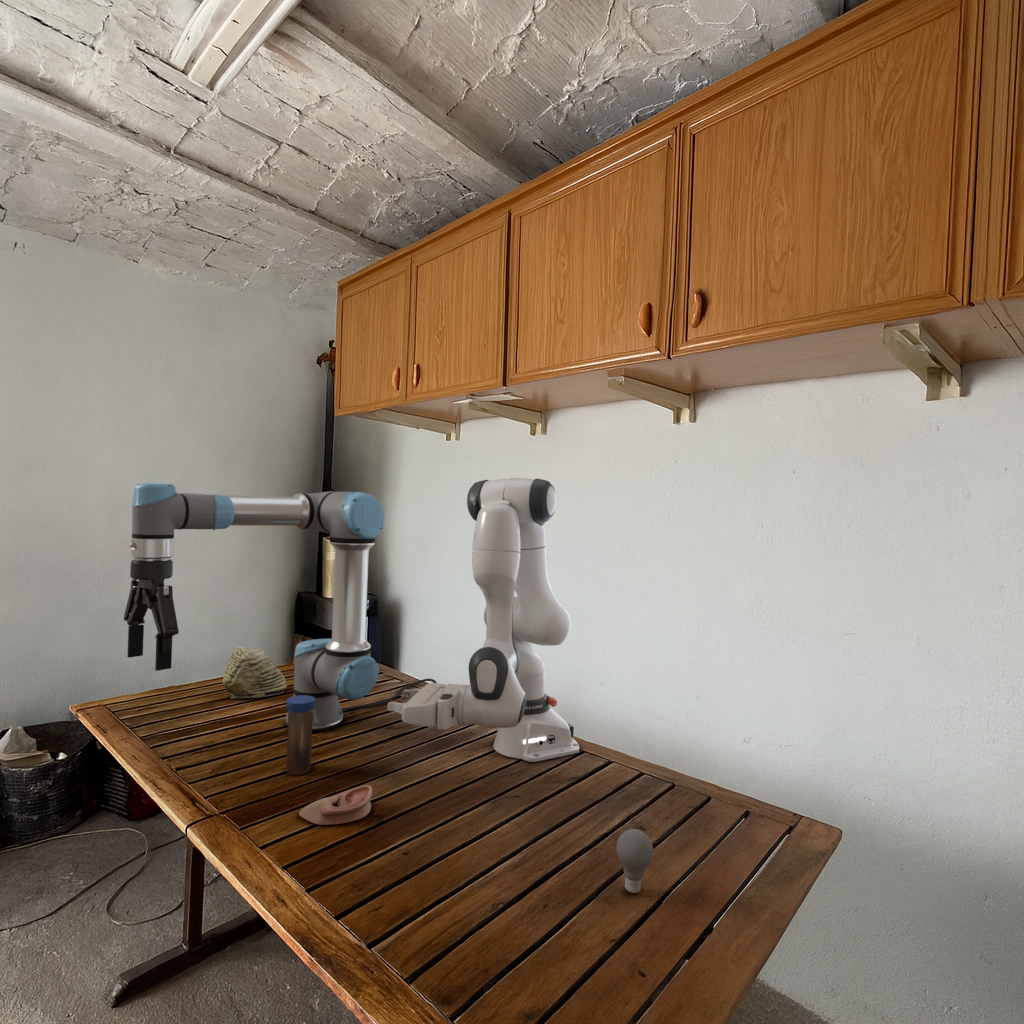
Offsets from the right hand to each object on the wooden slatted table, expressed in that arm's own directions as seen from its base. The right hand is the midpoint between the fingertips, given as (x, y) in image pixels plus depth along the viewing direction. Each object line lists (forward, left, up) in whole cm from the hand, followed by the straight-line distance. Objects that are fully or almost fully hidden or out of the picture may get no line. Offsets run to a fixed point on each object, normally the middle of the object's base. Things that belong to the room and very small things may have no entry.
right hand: (395, 699), depth 145 cm
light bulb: (-31, +54, -18) cm, 65 cm away
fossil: (+32, -67, -18) cm, 77 cm away
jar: (+20, -8, -18) cm, 28 cm away
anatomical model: (+14, +14, -17) cm, 26 cm away
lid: (+20, -8, -1) cm, 22 cm away
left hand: (+51, -2, +10) cm, 52 cm away
